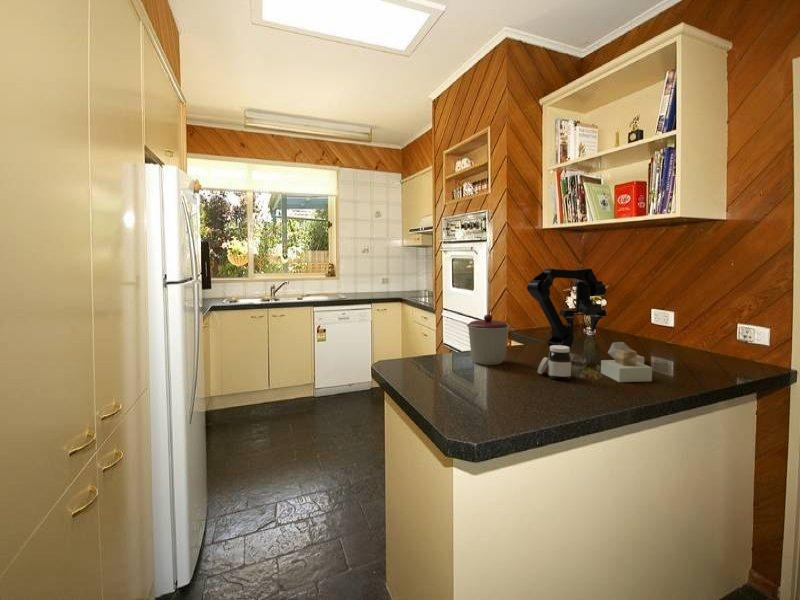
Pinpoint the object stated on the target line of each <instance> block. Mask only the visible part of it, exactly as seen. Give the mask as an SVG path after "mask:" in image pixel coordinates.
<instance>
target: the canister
mask: <svg viewBox="0 0 800 600" xmlns="http://www.w3.org/2000/svg"><path fill="white" fill-rule="evenodd" d="M466 327H467V328H468V339H469V344H470V345H469V348H470V355H471V358H472V360H473V362H474V363H475V362H476V364H478V363H479V364H478V365H482V364H483V366H495V365H496V366H497V365H500V364H502V363H503V361H504V360H505V356H506V349H507V343H508V341H507V340H508V333H509V328H511V325H510V324H508V323H507V322H505V321H502V320H495V319H493V316H492V315H491V314H485V315H484V316H483V319H479V320H472V321H470V322H469V323H467V324H466Z"/></svg>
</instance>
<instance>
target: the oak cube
mask: <svg viewBox="0 0 800 600" xmlns="http://www.w3.org/2000/svg"><path fill="white" fill-rule="evenodd" d="M630 349H631V348H630ZM630 349H616V354H615V359H614V360H615V362H616V363H618V364H620V365H623V366H631V365H636V363H637V355H638V354H637V352H638V351H635V350H633V349H632V350H630Z"/></svg>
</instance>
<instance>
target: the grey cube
mask: <svg viewBox="0 0 800 600" xmlns="http://www.w3.org/2000/svg"><path fill="white" fill-rule="evenodd" d="M637 362H639V363H642V364H644V365H645V357H644V356H641V355H639V354H637Z"/></svg>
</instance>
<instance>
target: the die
mask: <svg viewBox="0 0 800 600" xmlns="http://www.w3.org/2000/svg"><path fill="white" fill-rule="evenodd" d="M609 347H610V348H609V349H608V351H607V354H608V355H610V357H612V358H613V360H615V354H616V349H630V350H633V349H632V348H631V347H629V346H628V345H627V344H626V343H625V342H623V341H617V342H615V341H614V342H612V343H611V345H610V346H609Z"/></svg>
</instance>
